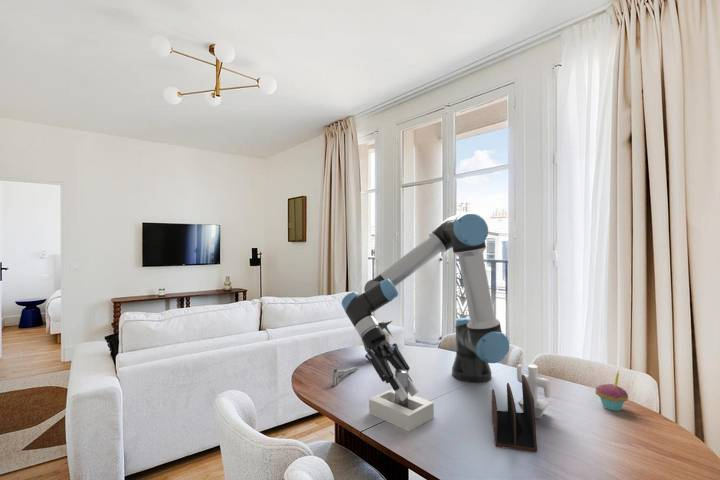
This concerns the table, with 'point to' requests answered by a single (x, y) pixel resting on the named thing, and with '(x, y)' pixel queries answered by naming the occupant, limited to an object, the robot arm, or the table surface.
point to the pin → (403, 379)
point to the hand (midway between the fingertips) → (410, 396)
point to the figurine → (535, 388)
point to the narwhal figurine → (382, 326)
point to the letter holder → (515, 422)
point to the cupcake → (612, 395)
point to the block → (401, 410)
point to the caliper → (341, 374)
